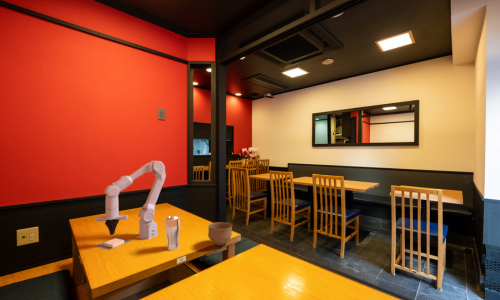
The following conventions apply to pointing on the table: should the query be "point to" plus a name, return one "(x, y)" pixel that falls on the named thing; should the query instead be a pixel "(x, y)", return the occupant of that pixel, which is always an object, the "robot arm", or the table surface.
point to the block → (114, 243)
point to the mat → (110, 247)
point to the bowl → (220, 232)
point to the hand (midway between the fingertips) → (112, 234)
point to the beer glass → (172, 232)
